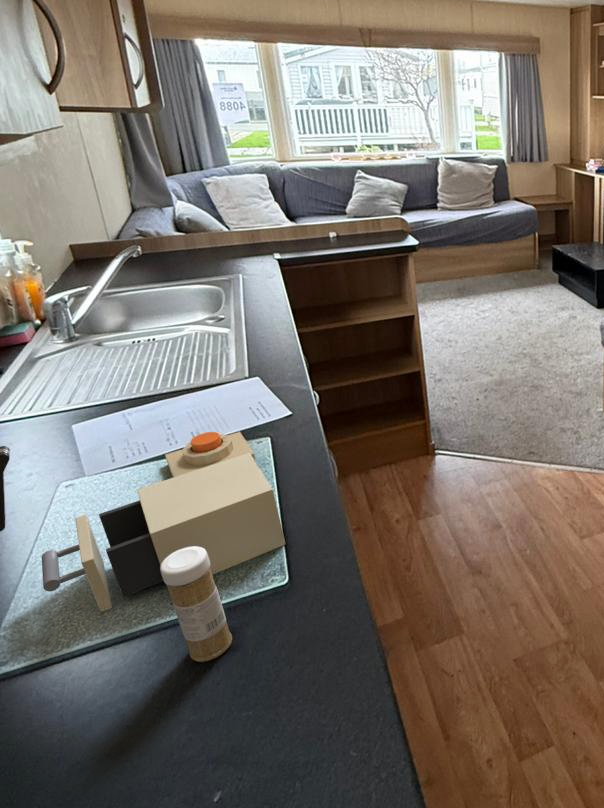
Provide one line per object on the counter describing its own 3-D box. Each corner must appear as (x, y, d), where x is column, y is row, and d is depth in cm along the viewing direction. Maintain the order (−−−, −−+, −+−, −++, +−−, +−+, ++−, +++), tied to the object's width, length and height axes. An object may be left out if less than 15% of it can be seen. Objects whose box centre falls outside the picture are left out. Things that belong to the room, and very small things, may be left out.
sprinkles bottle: (221, 627, 80) (194, 539, 75) (240, 644, 78) (214, 554, 73) (182, 652, 77) (151, 561, 72) (200, 670, 74) (170, 578, 69)
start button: (195, 456, 110) (193, 447, 109) (190, 446, 113) (188, 437, 112) (224, 447, 112) (222, 438, 112) (218, 437, 116) (216, 429, 115)
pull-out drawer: (57, 630, 79) (35, 579, 76) (53, 578, 87) (33, 531, 84) (219, 563, 89) (206, 516, 87) (202, 523, 98) (190, 479, 95)
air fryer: (169, 592, 86) (150, 533, 82) (154, 544, 95) (136, 489, 91) (285, 544, 94) (272, 489, 91) (262, 504, 103) (249, 452, 100)
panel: (178, 490, 107) (172, 470, 105) (168, 465, 114) (162, 445, 113) (256, 464, 114) (251, 444, 113) (242, 441, 121) (237, 422, 120)
